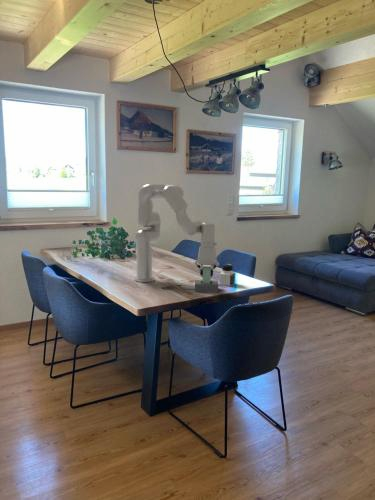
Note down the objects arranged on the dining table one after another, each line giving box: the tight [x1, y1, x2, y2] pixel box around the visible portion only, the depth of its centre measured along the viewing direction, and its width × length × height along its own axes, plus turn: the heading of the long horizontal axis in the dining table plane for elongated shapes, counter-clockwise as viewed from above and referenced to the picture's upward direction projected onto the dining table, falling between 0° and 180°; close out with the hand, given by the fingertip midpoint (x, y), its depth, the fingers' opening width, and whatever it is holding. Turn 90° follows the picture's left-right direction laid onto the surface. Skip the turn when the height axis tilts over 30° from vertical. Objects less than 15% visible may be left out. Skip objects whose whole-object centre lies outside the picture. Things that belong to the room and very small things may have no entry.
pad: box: [182, 284, 195, 290], centre depth 230 cm, size 7×7×1 cm
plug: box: [202, 265, 212, 284], centre depth 225 cm, size 5×5×12 cm
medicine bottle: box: [218, 263, 236, 287], centre depth 238 cm, size 7×7×12 cm
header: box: [194, 279, 219, 293], centre depth 226 cm, size 9×13×4 cm
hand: (206, 276), depth 225 cm, fingers closed on plug, 4 cm apart
